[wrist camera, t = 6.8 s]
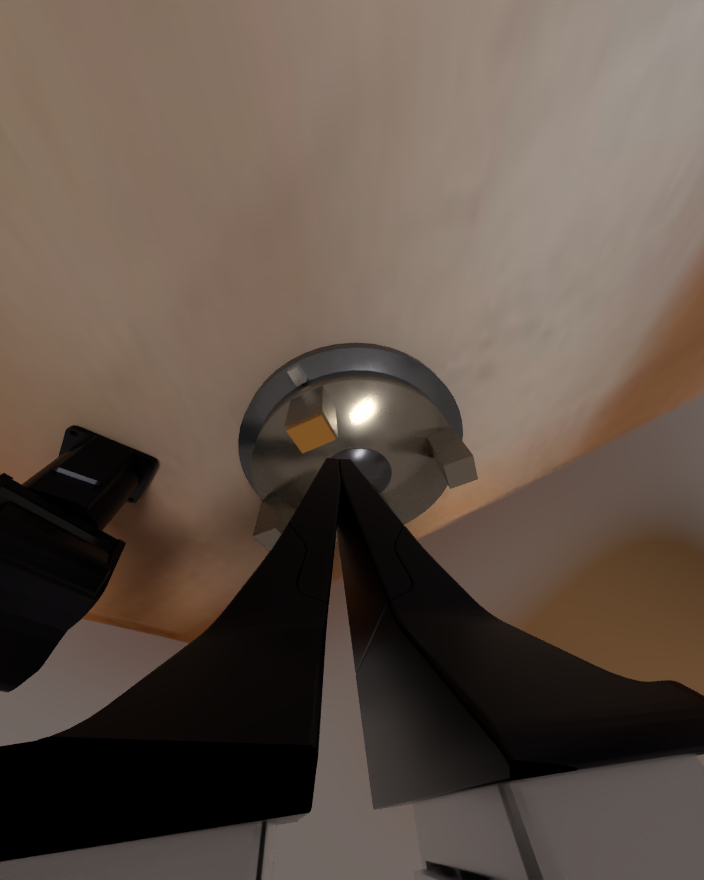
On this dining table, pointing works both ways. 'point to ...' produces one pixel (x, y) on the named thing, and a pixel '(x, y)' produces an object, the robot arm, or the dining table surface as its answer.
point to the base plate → (337, 361)
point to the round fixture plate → (356, 445)
